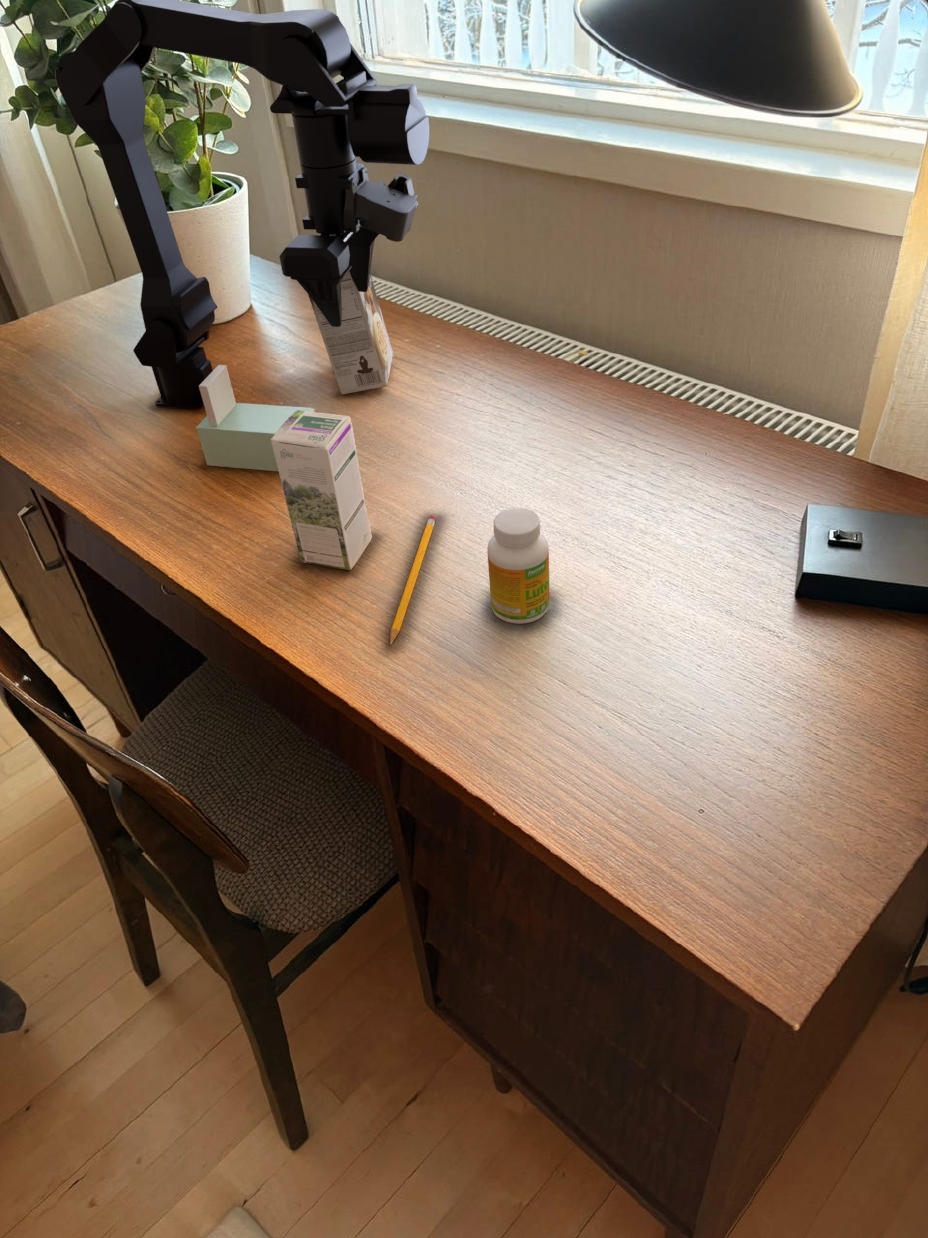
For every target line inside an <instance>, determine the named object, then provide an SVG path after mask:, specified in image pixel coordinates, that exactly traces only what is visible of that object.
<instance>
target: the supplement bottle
mask: <svg viewBox="0 0 928 1238" xmlns="http://www.w3.org/2000/svg"><path fill="white" fill-rule="evenodd" d="M487 566H488V580H489V594H490V607H491V610H492V612H493V614H494V615H495V616H496V617H497V618H499V619H500V620H502V621H504V622H506V623H510V624H517V625H518V624H519V625H521V624H529V623H533V622H536V621H538V620H539V619H540V618H542V617H544V615H546V613H547V612H548V610H549V606H550V549H549V541H548V540H547V538H546V536H545V535H544V534H543V533H542V532H541V519H540V517H539V515H538V514H537V513H536V512H535V511H534V510H531V509H530V508H526V507H510V508H506V509H503V510H501V511H500V512H498V513H497V514H496V515H495V516H494V519H493V535H492V536H491V537H490V539H489V540H488V544H487Z"/></svg>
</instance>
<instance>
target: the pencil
mask: <svg viewBox="0 0 928 1238" xmlns="http://www.w3.org/2000/svg"><path fill="white" fill-rule="evenodd" d="M436 520H437V518H436V516H435V515H429V517H428V519H427V521H426V525H425V527H424V530H423V533H422V536H421V540H420V541H419V542H420V543H419V545H418V548H417V551H416V554H415V558H414V560H413V563H412V566H411V569H410V573H409V575H408V579H407V581H406V584H405V588H404V589H403V590H404V591H403V593H402V596H401V599H400V602H399V604H398V608H397V611H396V613H395V616H394V620H393V623H392V626H391V628H390V635H389V636H390V638H389V639H390V640H389V643H390V645H392V644H393V642H394V641H395V640H396V637H397V636H398V634H399V633H400V630H401V628H402V625H403V622H404V618H405V615H406V612H407V609H408V607H409V603H410V599H411V597H412V594H413V591H414V588H415V584H416V581H417V578H418V575H419V573H420V569H421V566H422V563H423V560H424V557H425V555H426V554H425V553H426V550H427V547H428V545H429V541H430V538H431V535H432V532H433V529H434V526H435V523H436Z"/></svg>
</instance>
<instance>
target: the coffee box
mask: <svg viewBox="0 0 928 1238" xmlns="http://www.w3.org/2000/svg"><path fill="white" fill-rule="evenodd" d="M307 296H308V298H309V301H310V304H311V308H312V311H313V314H314V317H315V320H316V322H317V325H318V329H319V330H320V331H319V332H320V334H321V337H322V341H323V343H324V346H325V349H326V353H327V356H328V358H329V362H330V364H331V367H332V371H333V373H334V377H335V380H336V382H337V386H338V388H339V391H340V394H341V395H347V394H351V393H352V394H353V393H358V392H362V391H367V390H373V389H379V388H384V387H387V386H388V383H389V380H390V379H389V378H390V373H391V367H392V362H393V357H394V350H393V348H392V344H391V341H390V338H389V334H388V331H387V327H386V323H385V320H384V317H383V312H382V309H381V307H380V306H381V305H380V303H379V298H378V296H377V292H376V288H375V285H374V281H373V277H372V275H371V273H370V278H369V286H368V290H367V292H359V291H358V290H357V288H356V286H355V284H354V281H353V279H352V277H351V275H350V272H349V271H348V273H347V274H346V275H345V276H344V278H343V279H342V280H341V297H342V324H341V326H340V327H332V326H331V325H330V324H329V322H328V321H327V319H326V318H325V317H324V315H323V314H322V312H321V311H320V310H319V308H318V307H317V305H316V304H315V303H314V301H313V300H312V299H311V297H310V296H309V295H308V294H307Z"/></svg>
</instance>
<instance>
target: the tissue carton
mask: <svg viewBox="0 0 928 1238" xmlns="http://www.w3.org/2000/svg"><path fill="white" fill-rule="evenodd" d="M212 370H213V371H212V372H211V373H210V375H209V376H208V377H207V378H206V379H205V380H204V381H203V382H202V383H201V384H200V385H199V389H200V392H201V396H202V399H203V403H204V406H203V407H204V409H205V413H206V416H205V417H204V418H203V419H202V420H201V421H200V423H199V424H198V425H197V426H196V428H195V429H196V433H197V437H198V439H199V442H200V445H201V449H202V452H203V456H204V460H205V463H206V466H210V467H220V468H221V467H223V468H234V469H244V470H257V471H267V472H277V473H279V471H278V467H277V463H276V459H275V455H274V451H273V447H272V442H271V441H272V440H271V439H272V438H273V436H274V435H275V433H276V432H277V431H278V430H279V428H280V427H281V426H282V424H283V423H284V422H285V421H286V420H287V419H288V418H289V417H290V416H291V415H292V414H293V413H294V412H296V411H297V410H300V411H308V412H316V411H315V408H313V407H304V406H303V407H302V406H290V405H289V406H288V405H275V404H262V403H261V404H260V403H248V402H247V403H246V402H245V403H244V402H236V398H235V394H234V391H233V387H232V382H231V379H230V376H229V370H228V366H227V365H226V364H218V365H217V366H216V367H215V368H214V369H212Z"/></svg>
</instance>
